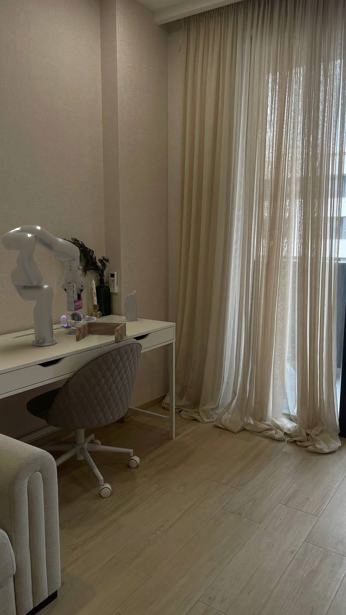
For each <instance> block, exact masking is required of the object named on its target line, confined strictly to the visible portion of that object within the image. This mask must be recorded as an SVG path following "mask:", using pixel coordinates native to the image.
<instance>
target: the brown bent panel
mask: <svg viewBox="0 0 346 615" xmlns="http://www.w3.org/2000/svg"><path fill="white" fill-rule="evenodd" d="M75 330H76V335H75V337H76V338H75V340H76V341H75V342H80V341H82V340H83V339H85V338H86V337H88V336H89V335H99V336H100V335H101V336H114V343H118V342H120V340H122V339H123V338H125V337H126V336H127V323H126V322H113V321H111V322H107V321H103V322H87V323H85V324H83V325H81V326H79V327H78V328H75Z"/></svg>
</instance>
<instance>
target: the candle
mask: <svg viewBox="0 0 346 615" xmlns="http://www.w3.org/2000/svg"><path fill="white" fill-rule="evenodd" d="M124 308H125V318H120V319H119V318H118V319H116V320H115V321H116V322H137V320H138V316H137V315H138V314H137V291H136V290H133V292H131V293H129V294H126V296H125V300H124Z"/></svg>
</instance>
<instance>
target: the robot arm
mask: <svg viewBox="0 0 346 615" xmlns="http://www.w3.org/2000/svg"><path fill="white" fill-rule="evenodd" d="M1 244H2V247H3V248H4V249H5V250H8V251H18V253H17V254H18V255H17V257H16V260H15V264H16V267H14V268H12V270H11V272H10V275H9V276H10V282H11V283H12V285H13V287H14V289H15V291H16V292H17V294H18V295H19V297H20V298H21V299H22V300H23V301H26V302H36V303H35V305H34V307H33V309H32V311H33V312H32V314H33V329H34V330H33V331H34V332H33V333H34V335H33V336H34V339H32V341H31V345H32V346H34V347H35V346H36V347H47V346H48V347H49V346H53V345H56V344H57V342H58V341H57V339H55V338H54V336H55V334H54V319H53V298H54V289H53V287H52V285H50V284H48V283H44V282H43V281H44V278H43V275H42V272H41V270H40V269H39V266H38V265H37V262H36V260H35V258H34V252H35V249H36V248H35V247H36V245H37V246H39V247H40V248H42V249H44V250H45V251H47V252H52V253H53V257H54V259H56V260H58V261H65V267H66V268H65V269H66V270H65V272H64V282H63V284H62V285H61V287H60V288H61V289H62V290H64V291H65V293H66V283H68V282H76V288H77V291H78V294H77V298H78V300H81V293H82V294H83V292H84V291H85V290H86V289H87V286H86V285H85V283H84V278H83V273H82V269H83V267H82V266H81V265H80V262H81V261H80V256H81V253H80V249H79V247H77V246H76V245H75V244H73V243H72V242H70V241H69V240H65V239H63V238H60V237H57V236H55V235H53V234H52V233H51V232H49V231H48V230H47V229H45V228H44V227H43V226H41V225H37V224H36V225H35V224H33V225H28V224H27V225H26V224H25V225H20V226H18V227H15V228H13V229H12V230H9V231H7V232H6V233H4V234H3V235H2V237H1Z"/></svg>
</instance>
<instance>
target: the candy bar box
mask: <svg viewBox="0 0 346 615" xmlns="http://www.w3.org/2000/svg"><path fill="white" fill-rule="evenodd" d="M65 293H66V305H67V306H66V308H67V310H66V311H67V312H78V311H80V310H81V309H83V292H82V293H81V300H78V298H77V294H78V291H77V288H76V282H68V283H66V292H65Z"/></svg>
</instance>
